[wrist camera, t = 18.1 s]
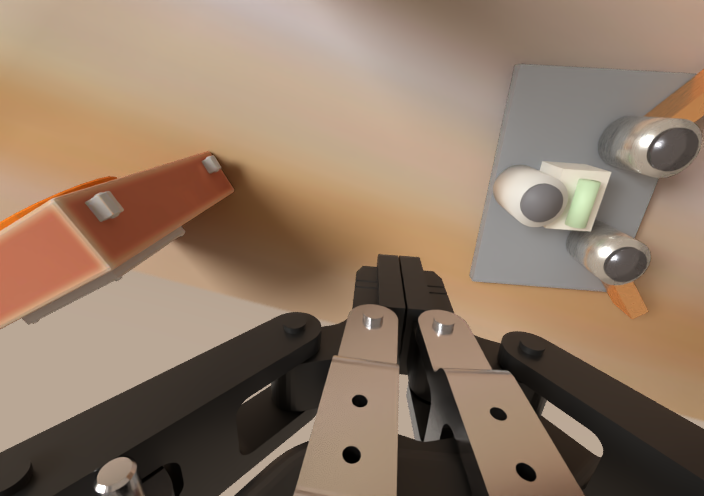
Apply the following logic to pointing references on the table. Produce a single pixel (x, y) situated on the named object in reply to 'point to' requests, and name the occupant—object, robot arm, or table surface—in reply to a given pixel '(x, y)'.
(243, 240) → the table surface
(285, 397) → the robot arm
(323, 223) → the table surface
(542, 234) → the levelling plate
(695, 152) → the knob
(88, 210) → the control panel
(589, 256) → the knob
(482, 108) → the table surface
